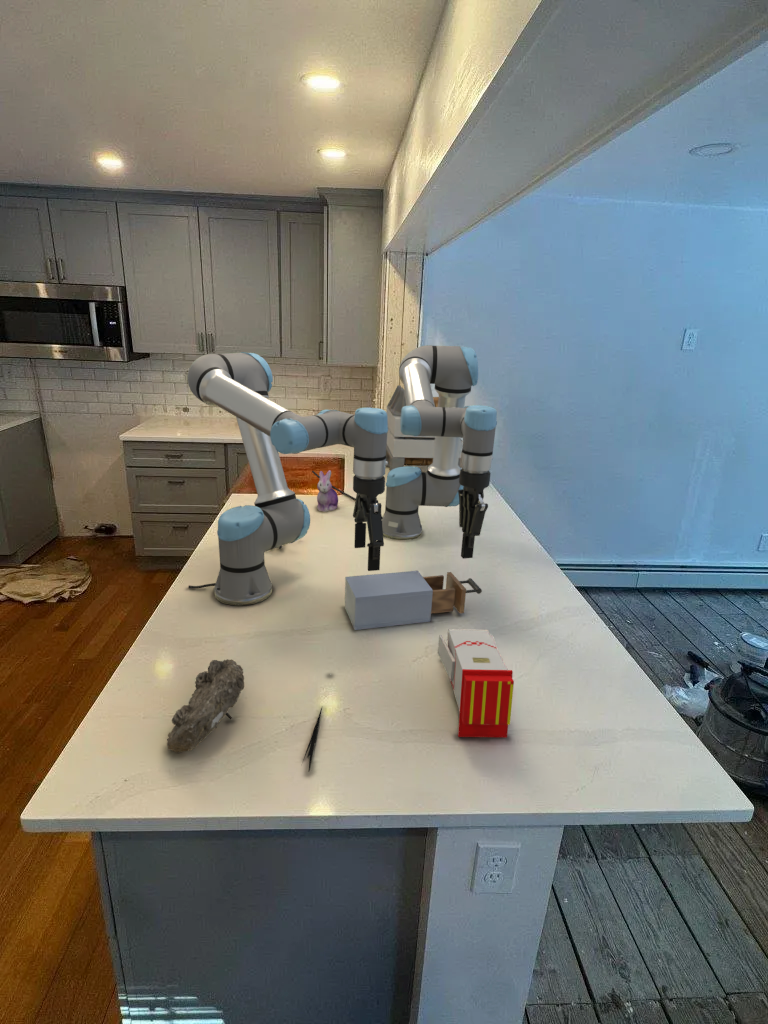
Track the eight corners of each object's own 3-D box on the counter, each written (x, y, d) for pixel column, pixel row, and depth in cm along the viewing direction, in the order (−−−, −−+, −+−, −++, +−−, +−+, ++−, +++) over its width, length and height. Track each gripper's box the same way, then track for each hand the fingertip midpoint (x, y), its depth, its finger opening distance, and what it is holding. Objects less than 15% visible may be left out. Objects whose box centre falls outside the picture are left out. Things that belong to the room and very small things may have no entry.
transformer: (382, 463, 289) (386, 382, 275) (445, 464, 293) (451, 384, 279) (390, 482, 257) (394, 392, 243) (460, 483, 261) (468, 394, 247)
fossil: (192, 660, 117) (244, 628, 112) (224, 691, 120) (276, 661, 115) (142, 746, 98) (202, 712, 93) (182, 779, 101) (242, 748, 96)
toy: (488, 613, 130) (523, 677, 101) (484, 667, 133) (517, 744, 104) (435, 612, 130) (455, 676, 101) (432, 666, 133) (451, 743, 103)
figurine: (320, 513, 215) (320, 475, 210) (311, 505, 224) (311, 468, 219) (343, 510, 219) (344, 473, 214) (333, 502, 228) (333, 466, 223)
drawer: (467, 592, 158) (469, 570, 156) (483, 611, 149) (486, 587, 147) (384, 601, 152) (385, 577, 149) (395, 620, 142) (397, 596, 140)
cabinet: (415, 600, 155) (417, 570, 152) (430, 621, 145) (432, 590, 142) (344, 607, 150) (345, 576, 146) (354, 630, 139) (355, 597, 136)
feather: (331, 679, 122) (336, 673, 122) (307, 777, 96) (313, 769, 95) (324, 675, 122) (329, 669, 121) (298, 772, 95) (304, 764, 95)
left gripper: (400, 490, 122) (395, 579, 130) (371, 461, 145) (368, 537, 152) (367, 492, 120) (363, 582, 128) (342, 462, 143) (341, 539, 150)
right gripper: (501, 476, 135) (490, 566, 143) (478, 462, 147) (469, 546, 155) (472, 477, 133) (463, 568, 141) (451, 463, 145) (444, 548, 153)
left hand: (366, 558), depth 140 cm, fingers open, 13 cm apart
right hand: (466, 556), depth 148 cm, fingers closed
